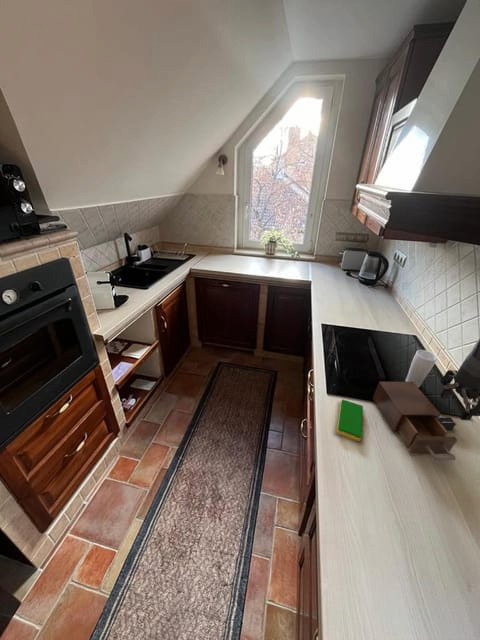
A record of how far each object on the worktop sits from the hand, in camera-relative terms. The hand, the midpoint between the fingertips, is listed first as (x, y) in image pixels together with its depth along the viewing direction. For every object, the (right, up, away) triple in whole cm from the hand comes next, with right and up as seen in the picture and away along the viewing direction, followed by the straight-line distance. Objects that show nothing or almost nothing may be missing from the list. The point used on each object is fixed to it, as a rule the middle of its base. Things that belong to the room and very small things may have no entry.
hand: (453, 408), depth 82 cm
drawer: (-12, -10, -1) cm, 16 cm away
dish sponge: (-31, -7, +5) cm, 32 cm away
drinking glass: (+2, +2, +22) cm, 22 cm away
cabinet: (-12, -5, +8) cm, 16 cm away
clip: (0, -8, +4) cm, 9 cm away
